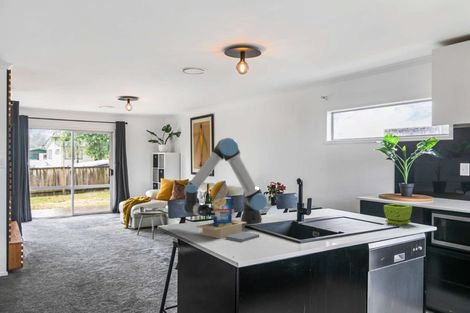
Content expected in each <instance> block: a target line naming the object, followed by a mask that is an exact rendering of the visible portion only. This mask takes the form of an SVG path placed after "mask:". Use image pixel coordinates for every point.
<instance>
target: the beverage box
mask: <svg viewBox="0 0 470 313" xmlns="http://www.w3.org/2000/svg"><path fill="white" fill-rule="evenodd" d="M232 198H233V197H231V196H225V197H224V196H223V197H222V196H221V197H219V196H218V197H212V201H213V202H212V204H213V206H212V208H213V211H215V212H220V217H216V216H212V217H213V218H212V219H213V222H212V223H213V226H214V227H220V228H221V227H226V226H230V225H232V220H233V219H232V216H233V214H232V210H233V209H232V207H233V206H232V205H233V204H232V202H233V201H232Z"/></svg>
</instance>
